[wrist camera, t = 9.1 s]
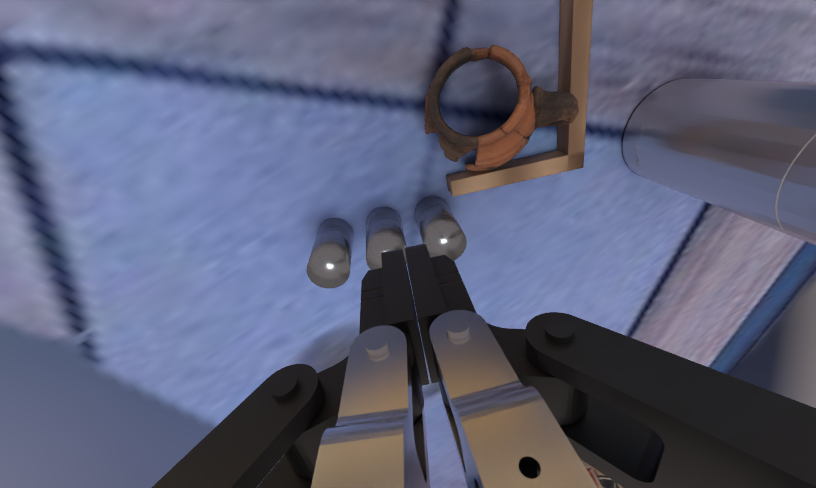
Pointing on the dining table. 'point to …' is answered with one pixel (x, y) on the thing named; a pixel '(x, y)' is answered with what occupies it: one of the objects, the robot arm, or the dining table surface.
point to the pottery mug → (520, 125)
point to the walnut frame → (570, 136)
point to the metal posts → (382, 240)
